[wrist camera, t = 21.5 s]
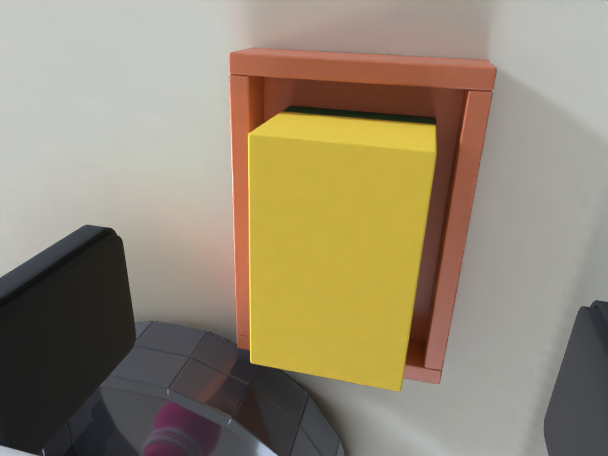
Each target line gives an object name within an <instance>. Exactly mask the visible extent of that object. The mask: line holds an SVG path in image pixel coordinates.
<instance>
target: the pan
mask: <svg viewBox="0 0 608 456" xmlns="http://www.w3.org/2000/svg"><path fill="white" fill-rule="evenodd" d="M135 329H136V341H135V345H134V347H133V349H132V350H131V352H130V353H129V354H128V355H127V356H126V357H125V358H124V359H123V360H122V362H121V363H120V364H119V365H118V366H117V367H116V368H115V369H114V371H113V372H112V373H111V374H110V375H109V376H108V377H107V378H106V379H105V381H104V382H103V383H102V384H101V385H100V386H99V387H98V388H97V389H96V391H95V392H94V393H93V394H92V395H91V396H90V397H89V398H88V400H87V401H86V402H85V403H84V404H83V405H82V406H81V407H80V408H79V410H78V411H77V412H76V413H75V414H74V415H73V416H72V417H71V418H70V420H69V421H68V422H67V423H66V424H65V425H64V426H63V427H62V429H61V430H60V431H59V432H58V433H57V434H56V435H55V436H54V437H53V439H52V440H51V441H50V442H49V443H48V444H47V445H46V446H45V447H44V449H43V450H42V451H41V452H40V453H39V454H38V456H345V454H344V451H343V447H342V444H341V441H340V438H339V436H338V435H337V433H336V432H335V430H334V429H333V428H332V426H331V425H330V423H329V422H328V421H327V419H326V418H325V416H324V415H323V414H322V412H321V411H320V409H319V408H318V406H317V405H316V404H315V402H314V401H313V399H312V398H311V397H310V396H309V395H308V393H307V392H306V391H304V390H303V389H302V388H301V387H300V386H298V385H297V384H296V383H295V382H293V381H292V380H291V379H290V378H288V377H287V376H286V375H285V374H284V373H282V372H281V371H280V370H279V369H277V368H273V367H268V366H263V365H258V364H252V363H251V362H250V350H246V349H240V348H237V344H236V343H234V342H231V341H229V340H227V339H225V338H223V337H221V336H219V335H217V334H215V333H212V332H210V331H209V332H208V331H205V330H200V329H194V328H189V327H184V326H179V325H173V324H168V323H163V322H158V321H155V322H154V321H148V322H139V323H135Z"/></svg>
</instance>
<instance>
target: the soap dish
mask: <svg viewBox="0 0 608 456" xmlns="http://www.w3.org/2000/svg"><path fill="white" fill-rule="evenodd" d="M496 71H497V69H496V67H495V66H494V65H493V64H491V63H490V61H488V60H473V59H454V58H435V57H416V56H397V55H378V54H359V53H340V52H321V51H302V50H283V49H264V48H249V49H245V50H240V51H235V52H231V53H229V73H230V74H231V75H230V76H229V88H230V121H231V155H232V189H233V222H234V256H235V290H236V324H237V348H240V349H246V350H250V284H249V180H248V134H249V133H250V132H252V131H253V130H255V129H256V128H258V127H259V126H261V125H262V124H264V123H265V122H267V121H268V120H270V119H271V118H273V117H274V116H276V115H277V114H279V113H280V112H282V111H283V110H285V109H286V108H288V107H289V106H301V107H313V108H326V109H338V110H350V111H362V112H374V113H387V114H399V115H411V116H423V117H434V118H436V135H437V156H436V163H435V170H434V176H433V183H432V190H431V196H430V203H429V209H428V216H427V223H426V229H425V236H424V243H423V249H422V256H421V262H420V269H419V276H418V282H417V289H416V296H415V302H414V309H413V315H412V322H411V329H410V335H409V342H408V349H407V355H406V362H405V368H404V375H403V378H406V379H412V380H417V381H423V382H428V383H434V384H439V383H440V379H441V374H442V368H443V363H444V357H445V352H446V346H447V341H448V335H449V330H450V324H451V319H452V313H453V308H454V302H455V297H456V291H457V286H458V280H459V275H460V269H461V264H462V258H463V253H464V248H465V242H466V237H467V231H468V226H469V220H470V215H471V209H472V204H473V198H474V193H475V187H476V182H477V176H478V171H479V165H480V160H481V154H482V149H483V143H484V138H485V132H486V127H487V121H488V116H489V110H490V105H491V99H492V94H493V93H492V90H493V88H494V82H495V77H496Z"/></svg>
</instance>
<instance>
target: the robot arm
mask: <svg viewBox="0 0 608 456" xmlns="http://www.w3.org/2000/svg"><path fill="white" fill-rule="evenodd" d="M135 341H136V329H135V323H134V316H133V309H132V302H131V295H130V288H129V281H128V274H127V267H126V261H125V254H124V247H123V242H122V239H121V237H119V236H117V234H116V232H115V230H113V229H112V228H107V227H100V226H93V225H85V226H83V227H81V228H79V229H78V230H76V231H75V232H73V233H71V234H70V235H68V236H67V237H65V238H63V239H62V240H60V241H59V242H57V243H55V244H54V245H52V246H51V247H49V248H47V249H46V250H44V251H43V252H41V253H39V254H38V255H36V256H35V257H33V258H31V259H30V260H28V261H27V262H25V263H23V264H22V265H20V266H19V267H17V268H15V269H14V270H12V271H11V272H9V273H7V274H6V275H4V276H3V277H1V278H0V456H38V454H39V453H40V452H41V451H42V450H43V449H44V447H45V446H46V445H47V444H48V443H49V442H50V441H51V440H52V439H53V437H54V436H55V435H56V434H57V433H58V432H59V431H60V430H61V429H62V427H63V426H64V425H65V424H66V423H67V422H68V421H69V420H70V418H71V417H72V416H73V415H74V414H75V413H76V412H77V411H78V410H79V408H80V407H81V406H82V405H83V404H84V403H85V402H86V401H87V400H88V398H89V397H90V396H91V395H92V394H93V393H94V392H95V391H96V389H97V388H98V387H99V386H100V385H101V384H102V383H103V382H104V381H105V379H106V378H107V377H108V376H109V375H110V374H111V373H112V372H113V371H114V369H115V368H116V367H117V366H118V365H119V364H120V363H121V362H122V360H123V359H124V358H125V357H126V356H127V355H128V354H129V353H130V352H131V350H132V349H133V347H134V345H135ZM544 436H545V441H546V446H547V450H548V455H549V456H608V302H605V301H598V300H596V301H594V302H593V303H592V305H591V306H590V307H585V306H582V307H581V308H580V309H579V311H578V314H577V317H576V320H575V323H574V326H573V329H572V332H571V336H570V339H569V342H568V345H567V349H566V352H565V355H564V358H563V361H562V364H561V367H560V371H559V374H558V377H557V380H556V383H555V386H554V390H553V393H552V396H551V399H550V402H549V406H548V409H547V412H546V416H545V420H544Z"/></svg>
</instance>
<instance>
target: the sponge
mask: <svg viewBox="0 0 608 456" xmlns="http://www.w3.org/2000/svg"><path fill="white" fill-rule="evenodd" d="M436 156H437V135H436V118H434V117H423V116H411V115H399V114H387V113H374V112H362V111H350V110H338V109H326V108H313V107H301V106H289V107H288V108H286V109H285V110H283V111H282V112H280V113H279V114H277V115H276V116H274V117H273V118H271V119H270V120H268V121H267V122H265V123H264V124H262V125H261V126H259V127H258V128H256V129H255V130H253V131H252V132H250V133H249V134H248V180H249V284H250V362H251V363H252V364H258V365H263V366H268V367H273V368H279V369H284V370H289V371H294V372H300V373H305V374H310V375H315V376H320V377H326V378H331V379H336V380H341V381H347V382H352V383H357V384H362V385H368V386H373V387H378V388H383V389H389V390H394V391H401V388H402V382H403V375H404V368H405V362H406V355H407V349H408V342H409V335H410V329H411V322H412V315H413V309H414V302H415V296H416V289H417V282H418V276H419V269H420V262H421V256H422V249H423V243H424V236H425V229H426V223H427V216H428V209H429V203H430V196H431V190H432V183H433V176H434V170H435V163H436Z"/></svg>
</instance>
